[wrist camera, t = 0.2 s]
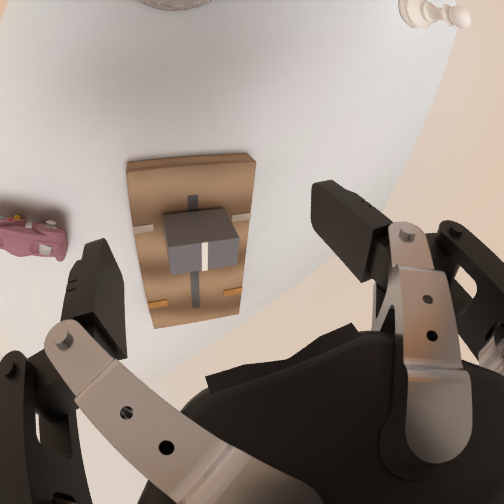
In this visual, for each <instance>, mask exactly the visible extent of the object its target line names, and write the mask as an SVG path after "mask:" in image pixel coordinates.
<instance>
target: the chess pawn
mask: <svg viewBox="0 0 504 504" xmlns="http://www.w3.org/2000/svg"><path fill="white" fill-rule="evenodd" d="M399 10H400V14H401V16H402V18H403V20H404V21H405V22H406V23H407V24H408V25H409V26H411V27H414V28H420V29H425V28H427V27H429V25H430V24H431V23H435V22H436V21H437V20H444V22H445V23H446V24H447V25H448V26H452V25H455V26H457V27H459V28H468V27H469V26H470V25H471V17H470V14H469V13H468V12H467V11H466V10H465V9H464V8H462V7H459V6H453V7H450V6H449V5H447V4H444V5H443V6H442V8H438V7H435V6H434V5H433V4H432V3H430V2H427V1H426V0H400V1H399Z"/></svg>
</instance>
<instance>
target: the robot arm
mask: <svg viewBox="0 0 504 504" xmlns="http://www.w3.org/2000/svg"><path fill="white" fill-rule="evenodd" d="M140 1H142V2H143V3H145V4H147V5H149V6H152V7H155V8H159V9H163V10H183V9H189V8H193V7H197V6H200V5H202V4H205V3H207V2H209V1H210V0H140ZM311 223H312V226H313V228H314V230H315V232H316V233H317V234H318V235H319V236H320V237H321V238H322V239H323V240H324V242H325V243H326V244H327V245H328V246H329V247H330V248H331V249H332V250H333V251H334V253H335V254H336V255H337V256H338V257H339V258H340V259H341V260H342V261H343V262H344V263H345V265H346V266H347V267H348V268H349V269H350V270H351V272H352V273H353V274H354V275H355V276H356V277H357V278H358V280H359V281H360V282H361V283H363V282H365V281H367V280H370V279H374V280H375V283H374V287H373V317H372V329H371V331H361V332H358V331H357V330H356V328H355V327H354V325H353V324H352V323H350V324H348V325H345V326H343V327H341V328H338V329H336V330H334V331H332V332H329V333H327V334H325V335H322V336H320V337H318V338H317V339H316V340H314V341H313V342H312V343H310V344H309V345H307V346H306V347H305V348H303V349H302V350H300V351H299V352H298V353H297V354H295V355H293V356H292V357H290V358H288V359H286V360H280V361H272V362H264V363H255V364H245V365H241V366H238V367H235V368H232V369H229V370H226V371H222V372H219V373H216V374H212V375H209V376H206V377H205V378H206V381H207V384H208V388H206V389H204V390H203V391H201V392H200V393H198V394H197V395H196V396H194V397H193V398H192V399H191V400H190V401H189V402H188V403H187V404H186V405H185V406H184V408H183V409H182V410H181V411H178V410H177V409H176V408H174V407H173V406H171V405H170V404H169V403H168V402H166V401H165V400H164V399H163V398H161V397H160V396H159V395H157V394H156V393H155V392H154V391H153V390H151V389H150V388H149V387H147V385H145V384H144V383H143V382H142V381H141V380H139V379H138V378H137V377H136V376H135V375H134V374H133V373H131V372H130V371H129V370H128V369H127V368H126V367H125V366H124V365H123V364H122V363H120V362H119V361H118V360H122V359H126V358H127V346H126V330H125V305H124V281H123V277H122V274H121V271H120V269H119V267H118V265H117V263H116V260H115V258H114V256H113V254H112V252H111V249H110V247H109V245H108V243H107V241H106V239H105V238H102V239H99V240H96V241H93V242H90V243H87V244H85V246H84V251H83V255H82V259H81V260H78V261H76V263H75V264H74V266H73V268H72V269H71V271H70V274H69V278H68V284H67V287H66V293H65V298H64V303H63V309H62V315H61V321H60V322H59V323H58V324H56V325H55V326H54V327H53V328H52V329H51V330H50V331H49V333H48V335H47V337H46V339H45V343H44V349H43V350H41V351H40V352H38V353H36V354H35V355H33V356H31V357H30V358H28V359H27V358H26V357H25V356H24V355H23V354H22V353H21V352H20V351H11V352H9V353H8V354H6V355H5V356H4V357H3V359H2V360H1V362H0V504H93V503H92V499H91V496H90V492H89V488H88V484H87V479H86V475H85V470H84V465H83V459H82V454H81V448H80V441H79V434H78V427H77V418H76V409H78V408H80V409H81V410H82V412H83V413H84V414H85V415H86V416H87V418H88V419H89V420H90V421H91V422H92V424H93V425H94V426H95V427H96V428H97V429H98V430H99V432H101V434H102V435H103V436H104V437H105V438H106V439H107V440H108V441H109V442H110V443H111V444H112V446H113V447H114V448H116V450H117V451H118V452H119V453H120V454H121V455H122V456H123V457H124V458H125V459H126V460H127V461H129V462H130V463H131V464H132V465H133V466H134V467H135V468H136V469H137V470H138V471H139V472H140V473H142V474H143V475H144V476H145V477H146V478H147V479H148V481H147V483H146V486H145V488H144V490H143V492H142V494H141V497H140V499H139V501H138V503H137V504H504V263H503V262H502V261H501V260H500V259H499V258H498V257H497V256H496V255H495V254H494V253H493V252H492V251H491V250H490V249H489V248H488V247H487V246H485V244H483V243H482V242H481V241H480V240H479V239H478V238H477V237H475V236H474V235H473V234H472V233H471V232H470V231H469V230H467V229H466V228H465V227H464V226H462V225H461V224H458V223H457V222H454V221H449V220H446V221H442V222H441V223H440V225H439V229H438V231H437V233H428V234H425V233H424V232H423V231H422V230H421V229H420V228H419V227H417V226H416V225H414V224H411V223H408V222H395V223H394V222H392V221H391V220H390V219H389V218H387V217H386V216H385V215H384V214H382V213H381V212H380V211H379V210H377V209H376V208H375V207H372V205H371V204H370V203H368V202H367V201H365V200H364V199H363V198H362V197H360V196H359V195H358V194H356V193H354V192H351V191H349V190H346V189H344V188H343V187H341V186H340V185H339V184H337V183H336V182H335V181H333V180H327V181H322V182H317V183H314V184H313V185H312V190H311ZM460 266H461V267H462V268H463V269H464V270H465V271H466V272H467V273H468V274H469V275H470V276H471V277H472V278H473V279H474V280H475V282H476V285H477V293H476V295H475V297H474V298H473V299H472V298H471V296H470V295H469V294H468V293H467V292H466V291H465V290H464V289H463V287H462V286H461V285H460V284H459V283H458V282H457V281H456V280H455V279H454V278H455V276H456V273H457V271H458V269H459V267H460ZM458 334H459V335H460V336H461V338H462V339H463V341H464V342H465V343H466V344H467V346H468V347H469V349H470V350H471V352H472V353H473V354H474V356H475V357H476V358H477V360H478V361H479V364H480V365H479V366H478V365H475V364H472V363H470V362H467V361H464V360H461V353H460V345H459V338H458ZM35 413H36V414H38V415H39V430H40V443H39V441H38V438H37V435H36V422H35V421H36V420H35Z"/></svg>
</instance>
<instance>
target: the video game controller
mask: <svg viewBox="0 0 504 504" xmlns="http://www.w3.org/2000/svg"><path fill="white" fill-rule="evenodd" d="M25 223H26V220H25V219H22V218H20V216H19V215H15V216H14V217H3V216H0V249H4V250H6V251H8V252H9V253H10V254H13V255H15V256H18V257H23V256H29V255H34V256H42V257H55V258H56V259H57V260H58V261H60V262H61V261H63V260H64V259H65V256H66V253H67V245H68V243H67V237H66V235H65V233H66V231H65V230H63V229H60V228H57V227H56V226H54V225H55V224H57V223H56V222H54V221H53V220H49V221H46V223H48V224H46V223H41V222H34V223H33V225H32V229H31V228H25Z"/></svg>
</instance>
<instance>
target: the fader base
mask: <svg viewBox="0 0 504 504" xmlns="http://www.w3.org/2000/svg"><path fill="white" fill-rule="evenodd" d="M255 169H256V161H255V160H254V159H253V158H252V157H251V156H250V155H249V154H248V153H247V154H219V155H201V156H186V157H174V158H163V159H154V160H144V161H136V162H128V163H127V169H126V176H127V185H128V194H129V202H130V210H131V217H132V224H133V231H134V236H135V242H136V248H137V254H138V259H139V264H140V269H141V274H142V279H143V284H144V288H145V293H146V297H147V302H148V307H149V310H150V314H151V318H152V322H153V326H154V329H157V328H164V327H170V326H176V325H182V324H188V323H193V322H199V321H205V320H210V319H215V318H221V317H226V316H231V315H236V314H239V308H240V299H241V293H242V281H243V273H244V264H245V255H246V246H247V237H248V229H249V220H250V216H251V213H250V211H251V203H252V194H253V186H254V177H255ZM222 208H224V209H225V211H226V213H227V215H228V216H229V218H230V220H231V222H232V224H233V226H234V228H235V230H236V232H237V234H238V235H239V237H240V241H239V251H238V262H237V265H233V266H227V267H220V268H214V269H208V270H207V271H202V270H200V271H194V272H187V273H180V274H174V275H171V272H170V267H169V262H168V256H167V251H166V245H165V238H164V227H163V215H167V214H176V213H184V212H193V211H202V210H212V209H222Z"/></svg>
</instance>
